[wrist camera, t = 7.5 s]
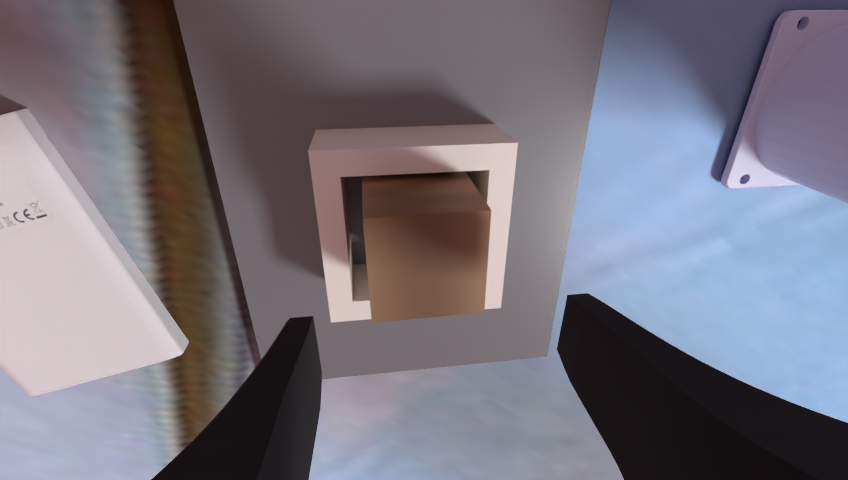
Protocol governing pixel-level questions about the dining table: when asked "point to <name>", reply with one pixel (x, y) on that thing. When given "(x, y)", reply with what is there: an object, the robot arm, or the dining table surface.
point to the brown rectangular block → (425, 245)
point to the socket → (394, 155)
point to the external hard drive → (67, 276)
